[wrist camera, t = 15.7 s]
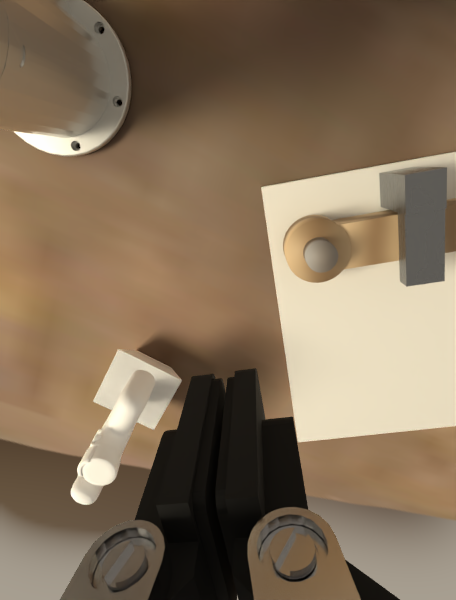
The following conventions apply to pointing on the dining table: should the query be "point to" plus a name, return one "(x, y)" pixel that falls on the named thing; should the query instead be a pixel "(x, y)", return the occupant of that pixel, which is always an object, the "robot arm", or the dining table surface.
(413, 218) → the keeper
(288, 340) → the pivot board
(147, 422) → the figurine
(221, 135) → the dining table surface
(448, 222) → the oak link
